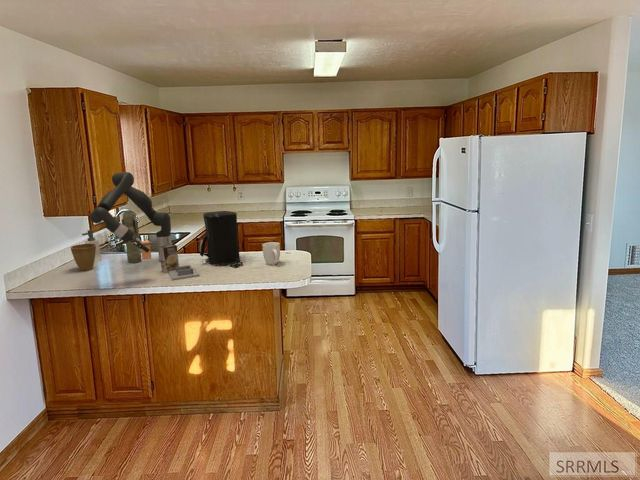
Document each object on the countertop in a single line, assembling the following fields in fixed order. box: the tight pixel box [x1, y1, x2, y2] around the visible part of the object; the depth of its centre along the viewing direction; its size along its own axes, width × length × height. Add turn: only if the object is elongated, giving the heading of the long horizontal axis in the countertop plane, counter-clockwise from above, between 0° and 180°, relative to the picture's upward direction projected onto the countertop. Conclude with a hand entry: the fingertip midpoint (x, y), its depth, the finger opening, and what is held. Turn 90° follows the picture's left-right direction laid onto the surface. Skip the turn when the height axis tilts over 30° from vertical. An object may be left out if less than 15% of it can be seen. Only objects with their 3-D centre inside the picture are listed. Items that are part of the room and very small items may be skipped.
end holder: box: [168, 264, 200, 281], centre depth 287 cm, size 18×16×4 cm
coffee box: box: [159, 244, 180, 274], centre depth 296 cm, size 9×6×16 cm
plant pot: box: [70, 243, 96, 272], centre depth 308 cm, size 15×15×16 cm
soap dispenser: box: [81, 229, 102, 263], centre depth 328 cm, size 6×9×22 cm
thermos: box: [121, 210, 143, 264], centre depth 320 cm, size 9×12×35 cm
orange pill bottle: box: [140, 240, 152, 261], centre depth 276 cm, size 5×5×10 cm
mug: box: [262, 241, 281, 266], centre depth 300 cm, size 15×11×13 cm
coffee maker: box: [199, 210, 244, 268], centre depth 308 cm, size 23×32×34 cm
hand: (148, 250), depth 277 cm, fingers closed on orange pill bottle, 5 cm apart
